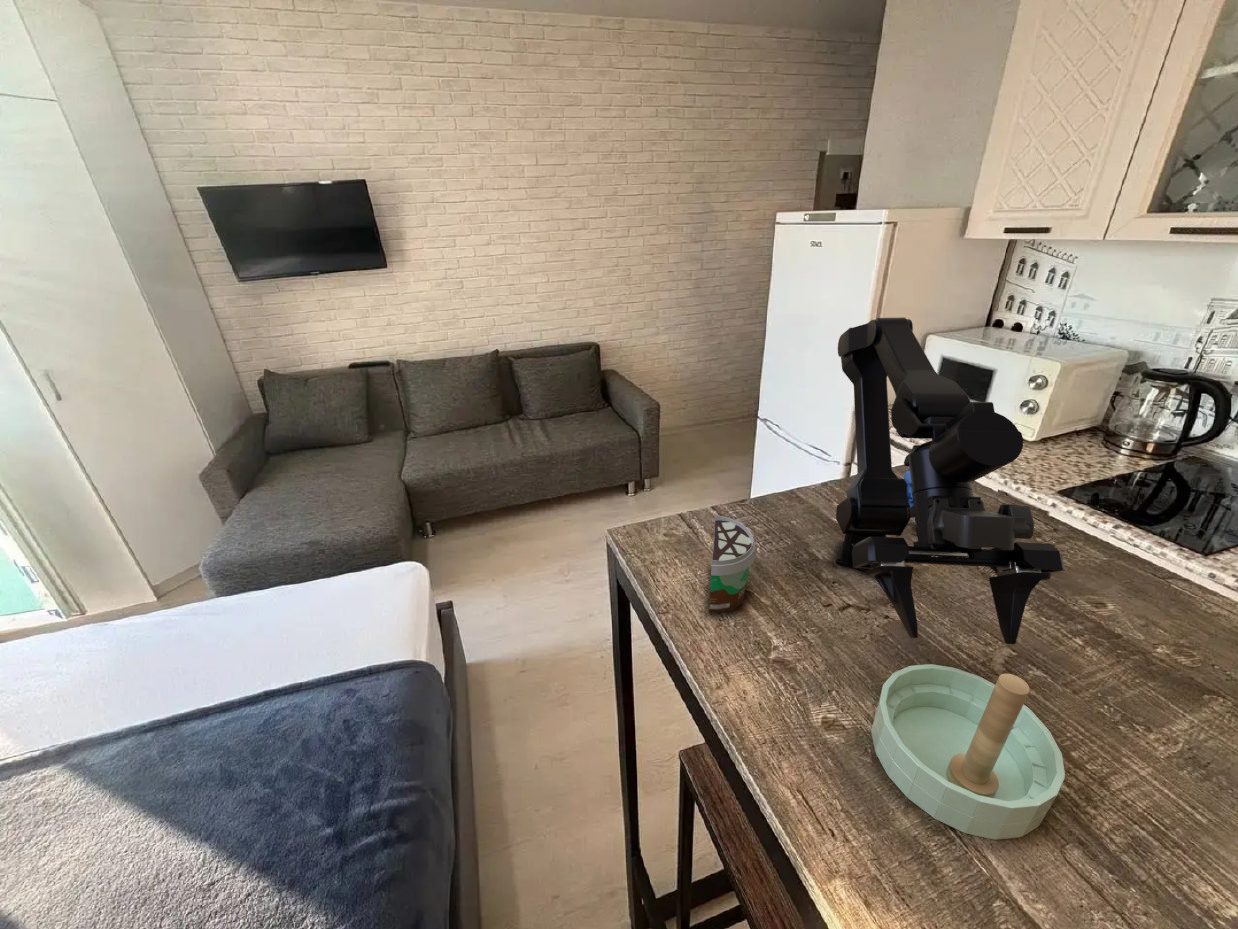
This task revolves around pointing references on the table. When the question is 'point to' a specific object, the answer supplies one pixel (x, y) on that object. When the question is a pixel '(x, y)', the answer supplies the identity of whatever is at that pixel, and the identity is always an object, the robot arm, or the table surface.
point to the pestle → (989, 738)
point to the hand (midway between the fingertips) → (961, 641)
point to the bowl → (963, 752)
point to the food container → (730, 563)
